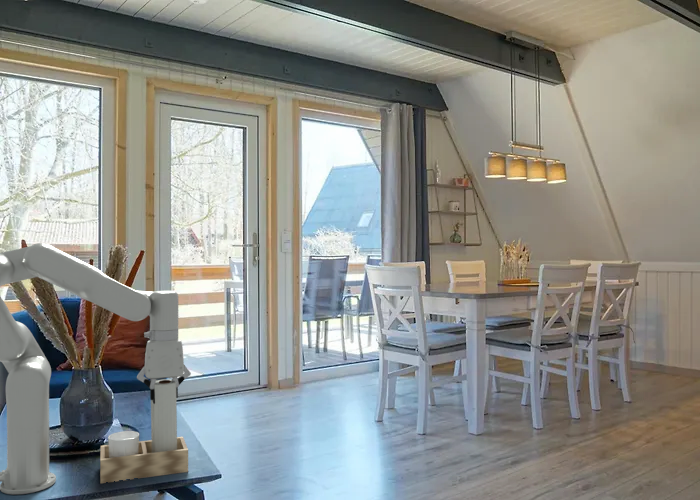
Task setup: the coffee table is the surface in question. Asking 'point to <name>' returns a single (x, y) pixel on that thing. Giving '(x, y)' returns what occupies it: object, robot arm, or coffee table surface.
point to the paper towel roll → (164, 416)
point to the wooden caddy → (143, 462)
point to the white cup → (123, 444)
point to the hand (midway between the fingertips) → (164, 400)
